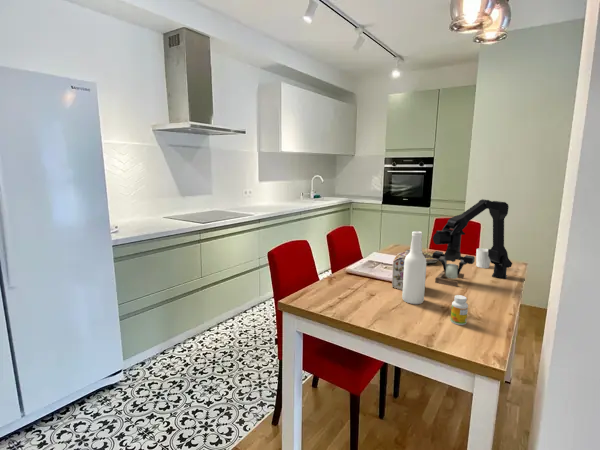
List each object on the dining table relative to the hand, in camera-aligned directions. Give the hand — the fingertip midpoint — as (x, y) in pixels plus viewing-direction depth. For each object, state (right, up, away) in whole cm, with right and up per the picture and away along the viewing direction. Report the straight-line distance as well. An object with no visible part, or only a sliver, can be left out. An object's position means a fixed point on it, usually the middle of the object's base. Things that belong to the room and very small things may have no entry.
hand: (451, 273), depth 169 cm
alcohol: (-28, -8, -26) cm, 39 cm away
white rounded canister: (0, -2, 0) cm, 2 cm away
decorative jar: (-25, -5, -10) cm, 27 cm away
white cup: (+29, 0, +25) cm, 38 cm away
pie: (-2, +2, +36) cm, 36 cm away
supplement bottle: (-18, -11, -45) cm, 50 cm away
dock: (-1, -3, +1) cm, 4 cm away
